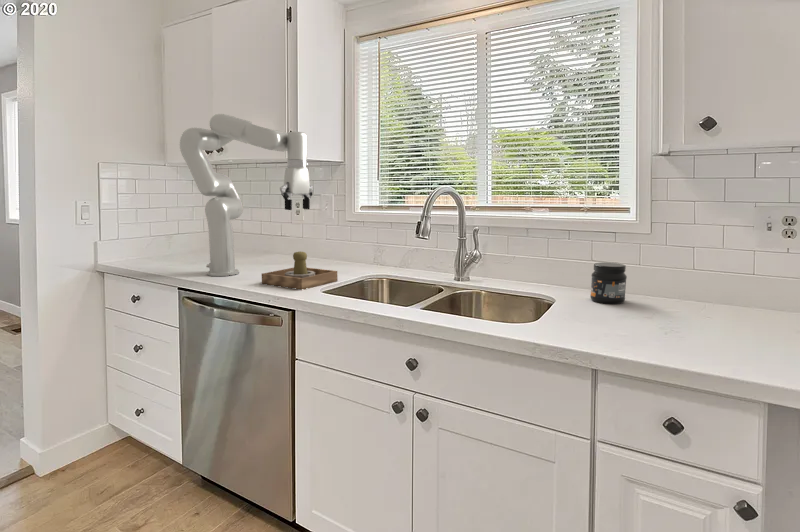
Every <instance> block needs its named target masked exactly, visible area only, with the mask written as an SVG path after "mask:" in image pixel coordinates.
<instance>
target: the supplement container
mask: <svg viewBox="0 0 800 532" xmlns="http://www.w3.org/2000/svg"><path fill="white" fill-rule="evenodd" d="M626 268H627V266H626V265H625V264H623V263H618V262H595V263H594V264H593V272H592V273H591V286H590V300H591V301H593V302H595V303H599V304H605V305H618V304H619V305H620V304H623V303H624V302H625V301H626V286H627V279H628V276H627V274H626V273H625V272H626V271H627V269H626Z"/></svg>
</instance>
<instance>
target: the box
mask: <svg viewBox="0 0 800 532" xmlns="http://www.w3.org/2000/svg"><path fill="white" fill-rule="evenodd" d="M293 272H294V267H289V268H283V269H278V270H274V271H269V272H263V273H261V285H264V284H267V285H266V286H271V285H274V286H273V287H278V286H281V287H280V288H285V287H288V288H287V289H292V288H296V289H295V290H298V289H304V290H307V289H306V288H308V289H311V288H316V287H319V286H320V287H321V286H324V285H327V284H332V283H335V282H336V283H337V282H338V270H333V269H331V270H330V269H322V268H316V267H315V268H313V267H307V273H308V274H303V275H294V274H293Z"/></svg>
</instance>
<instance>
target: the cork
mask: <svg viewBox="0 0 800 532" xmlns="http://www.w3.org/2000/svg"><path fill="white" fill-rule="evenodd" d="M292 258H293V260H294V264H293V268H294V272H293V274H294V275H303V274H308V273H307V268H308V266H307V262H306V260H307V258H308V255H307V252H305V251H295V252H294V253H293V254H292Z"/></svg>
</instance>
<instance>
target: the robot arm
mask: <svg viewBox="0 0 800 532" xmlns="http://www.w3.org/2000/svg"><path fill="white" fill-rule="evenodd" d="M209 127H210V128H209V129H206V128H202V127H190V128H187V129H186V130H184V131H183V132H182V134H181V136H180V138H179V149H180V150H179V151H180V153H181V156H182V158H183V160H184V162H185V164H186V165H187V167H188V169H189V172H190V173H191V176H192V178H193V181H194V182H195V184H196V187H197V189H198V191H199V193H200V194H201V195H202V196H205V197H212V198H211V199H209V200H208V201H207V202H206V204H205V207H204V213H205V217H206V222H207V230H208V240H209V241H208V242H209V243H208V245H209V263H208V264H206V265H205V266H206V268H208V269H209V270H207V272H206V275H207V276H209V277H210V276H211V277H226V276H227V277H229V275H230V276H235V274H236V275H238V274H239V273H240V270H239V269H236V263H235V262H236V261H235V260H236V259H235V245H234V244H235V243H234V242H235V241H234V240H235V239H234V238H235V237H234V230H233V225H232V223H231V220H236V219H238V218H240V217H241V216H242V214H243V211H244V208H243V203H242V200H241V198H240V195H239V193H238V191H237V189H236V187H235V184H234V183H233V181H232V179H231V178H230V177H229V176H228V175H226V174H225V173H219V172H216V171H215V170H214V167H213V166H212V164H211V162H210V160H209V158H208V157H207V156H206V155H205V154H204V152H203V151H209V152H213V151H217V150H220V149H222V148H224V146H226V145H227V144H229V143H230V142H232V141H236V142H237V141H238V142H241V143H244V144H249V145H251V146H255V147H258V148H261V149H265V150H269V151H275V152H276V151H277V152H287V154H286V156H287V163H286V164H287V165H286V166H287V168H285V171H284V177H283V185H282V186H280V187H279V191H280V193H281V196H282V198H283V200H284V210H286V211H291V210H292V209H293V208H292V207H293V206H292V205H293V204H292V203H293V200H292V197H293V195H302V198H303V199H302V209H303V210H310V205H311V204H310V203H311V202H310V201H311V199H312V196H313V193H314V189H315V188H314V187H313V186H311V184H310V175H309V173H310V172H309V169H308V166H309V163H308V135H307V133H306V132H303V131H290V132H285V131H280V130H275V129H271V128H267V127H263V126H261V125H257V124H253V122H252V121H250V120H246V119H242V118H239V117H236V116H233V115H230V114H224V113H217V114H214V115H212V116H211V117H210V120H209Z"/></svg>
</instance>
